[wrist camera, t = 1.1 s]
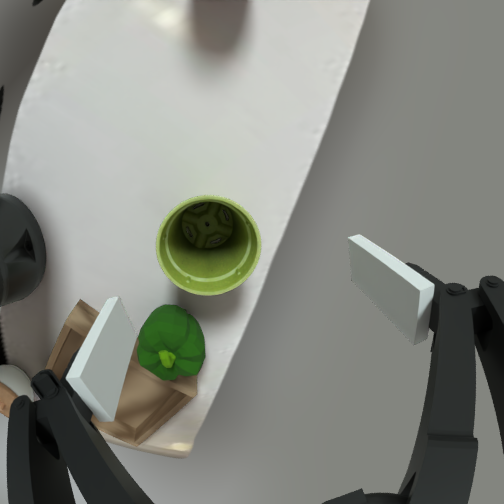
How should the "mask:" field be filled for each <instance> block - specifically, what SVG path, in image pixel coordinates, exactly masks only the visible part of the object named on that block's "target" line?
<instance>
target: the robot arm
mask: <svg viewBox="0 0 504 504" xmlns="http://www.w3.org/2000/svg"><path fill="white" fill-rule="evenodd" d="M348 244H349V255H350V267H351V281H352V282H353V283H354V284H355V285H356V286H357V287H358V288H359V289H360V290H361V291H362V292H363V293H364V294H365V295H366V296H367V297H368V298H369V299H370V300H371V301H372V302H373V303H374V304H375V305H376V306H377V307H378V308H379V309H380V310H381V311H382V312H383V313H384V314H385V315H386V316H387V317H388V319H390V321H392V323H393V324H394V325H395V326H396V327H397V328H398V329H399V330H400V331H401V332H402V333H403V334H404V335H405V337H406V338H407V339H409V341H410V342H411V343H412V344H413V345H416V344H418V343H420V342H422V341H424V340H426V339H427V337H428V331H429V328H430V329H431V330H432V331H433V332H434V336H433V342H432V347H431V352H432V354H431V363H430V371H429V378H428V385H427V391H426V397H425V402H424V407H423V412H422V417H421V422H420V426H419V430H418V435H417V438H416V442H415V446H414V450H413V454H412V457H411V460H410V464H409V467H408V470H407V473H406V475H405V478H404V480H403V482H402V484H401V487H400V489H399V492H398V494H393V493H370V494H364V492H363V490H362V489H359V490H356V491H354V492H351V493H348V494H346V495H343V496H340V497H337V498H334V499H331V500H328V501H326V502H324V503H322V504H468V500H469V496H470V491H471V487H472V482H473V477H474V472H475V466H476V459H477V452H478V440H477V438H474V436H473V429H474V417H475V398H476V361H475V346H476V349H477V352H478V355H479V357H480V360H481V363H482V366H483V369H484V372H485V375H486V379H487V382H488V386H489V389H490V392H491V396H492V400H493V404H494V408H495V411H496V416H497V421H498V425H499V430H500V435H501V441H502V447H503V453H504V281H502V280H501V279H500V278H498V277H496V276H485V277H483V278H482V279H481V280H480V284H479V288H476V289H471V290H468V289H467V288H466V287H465V286H463V285H461V284H457V283H448V284H444V283H443V282H441V281H440V280H438V279H437V278H435V277H434V276H432V275H431V274H429V273H428V272H427V271H424V269H422V268H420V267H419V266H417V265H415V264H411V263H406V264H404V263H403V262H401V261H400V260H398V259H397V258H395V257H394V256H392V255H391V254H389V253H388V252H386V251H385V250H383V249H382V248H380V247H379V246H377V245H376V244H374V243H373V242H371V241H369V240H368V239H366V238H364V237H363V236H361V235H355V236H351V237H348ZM45 262H46V254H45V245H44V240H43V236H42V233H41V230H40V228H39V225H38V223H37V221H36V219H35V217H34V216H33V214H32V213H31V211H30V210H29V209H28V207H27V206H26V205H25V204H24V203H23V202H22V201H20V200H19V199H18V198H16V197H14V196H12V195H9V194H0V307H1V306H4V305H7V304H10V303H13V302H15V301H19V300H22V299H24V298H25V297H27V296H28V295H29V294H30V293H31V292H32V291H33V290H34V289H35V288H36V287H37V286H38V285H39V283H40V281H41V279H42V277H43V274H44V270H45ZM137 336H138V335H137V333H136V331H135V329H134V327H133V325H132V323H131V321H130V319H129V317H128V314H127V312H126V310H125V308H124V306H123V304H122V301H121V299H120V297H119V296H117V297H113V298H109V299H107V301H106V303H105V305H104V306H103V308H102V310H101V312H100V313H99V315H98V317H97V319H96V320H95V322H94V324H93V326H92V328H91V330H90V331H89V333H88V335H87V337H86V339H85V341H84V343H83V345H82V346H81V347H79V348H78V349H77V351H76V352H75V353H74V354H73V356H72V357H71V359H70V362H69V363H68V365H67V368H66V369H65V371H64V373H63V375H62V377H61V379H60V381H59V379H58V378H57V376H56V375H55V374H54V372H53V371H52V370H51V369H45V370H42V371H40V372H39V373H37V374H36V375H35V376H34V377H33V379H32V381H31V387H32V389H33V390H34V391H35V393H36V394H37V395H38V396H39V398H40V399H41V400H38V401H35V402H32V401H31V399H30V398H29V397H28V396H27V395H21V396H19V397H17V398H15V399H14V400H13V402H12V404H11V406H10V412H9V422H8V437H7V488H8V501H9V504H76V503H75V499H74V495H73V491H72V487H71V483H70V478H69V474H68V469H67V466H68V468H69V470H70V473H71V475H72V477H73V479H74V480H75V482H76V484H77V486H78V488H79V490H80V492H81V493H82V495H83V497H84V499H85V500H86V502H87V504H154V503H153V502H152V500H151V499H150V498H149V497H148V496H147V495H146V494H145V493H144V491H143V490H142V489H141V488H140V487H139V486H138V484H137V483H136V482H135V481H134V479H133V478H132V477H131V476H130V474H129V473H128V472H127V471H126V469H125V468H124V466H123V465H122V464H121V462H120V461H119V460H118V459H117V457H116V456H115V454H114V453H113V451H112V450H111V449H110V447H109V446H108V444H107V443H106V441H105V440H104V438H103V437H102V435H101V434H100V432H99V430H98V429H97V427H96V426H95V424H94V423H93V422H92V421H91V418H92V415H94V416H95V417H96V418H97V419H98V420H99V422H112V421H114V418H115V414H116V410H117V406H118V402H119V398H120V394H121V390H122V387H123V383H124V379H125V376H126V372H127V369H128V365H129V362H130V359H131V355H132V352H133V349H134V345H135V342H136V339H137Z"/></svg>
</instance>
